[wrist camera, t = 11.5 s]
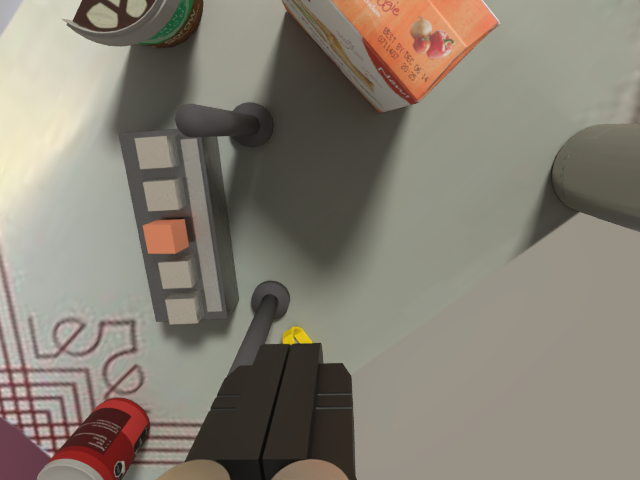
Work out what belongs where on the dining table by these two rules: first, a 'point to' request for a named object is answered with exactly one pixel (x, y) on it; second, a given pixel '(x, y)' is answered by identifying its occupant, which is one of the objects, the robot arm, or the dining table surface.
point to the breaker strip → (200, 219)
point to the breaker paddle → (166, 236)
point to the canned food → (101, 444)
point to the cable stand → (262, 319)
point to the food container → (137, 21)
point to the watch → (297, 333)
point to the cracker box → (394, 42)
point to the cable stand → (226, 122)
